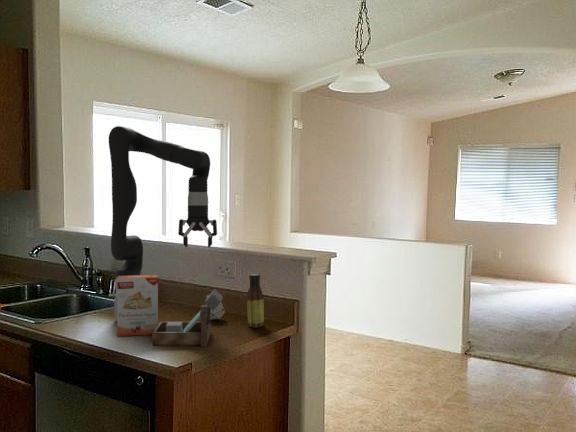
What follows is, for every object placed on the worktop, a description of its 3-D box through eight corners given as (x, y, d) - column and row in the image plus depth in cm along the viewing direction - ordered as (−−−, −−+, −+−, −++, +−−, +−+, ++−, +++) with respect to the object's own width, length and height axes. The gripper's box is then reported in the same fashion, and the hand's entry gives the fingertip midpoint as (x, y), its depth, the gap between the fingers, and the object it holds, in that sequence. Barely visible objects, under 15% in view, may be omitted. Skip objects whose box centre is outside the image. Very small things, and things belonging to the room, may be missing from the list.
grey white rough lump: (219, 328, 210) (233, 307, 212) (214, 326, 202) (229, 304, 204) (201, 315, 212) (216, 295, 214) (196, 313, 204) (211, 291, 206)
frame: (151, 347, 173) (151, 306, 172) (161, 332, 190) (161, 295, 190) (206, 347, 174) (206, 306, 173) (211, 332, 191) (211, 295, 191)
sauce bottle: (266, 325, 202) (267, 273, 201) (259, 329, 196) (259, 276, 195) (251, 323, 205) (252, 272, 203) (243, 326, 199) (244, 275, 198)
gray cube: (180, 339, 180) (165, 339, 179) (182, 335, 185) (168, 335, 184) (180, 325, 179) (165, 325, 179) (182, 321, 184) (168, 321, 184)
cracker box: (117, 337, 183) (116, 278, 182) (117, 332, 189) (117, 275, 188) (158, 334, 187) (158, 276, 186) (157, 330, 193) (157, 273, 192)
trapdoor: (184, 342, 176) (175, 334, 176) (189, 332, 188) (180, 325, 188) (220, 303, 176) (211, 295, 176) (223, 295, 188) (215, 288, 188)
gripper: (177, 204, 193) (177, 248, 194) (216, 204, 194) (215, 248, 195) (180, 203, 201) (180, 245, 202) (217, 203, 201) (217, 245, 202)
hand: (197, 246), depth 198 cm, fingers open, 8 cm apart
